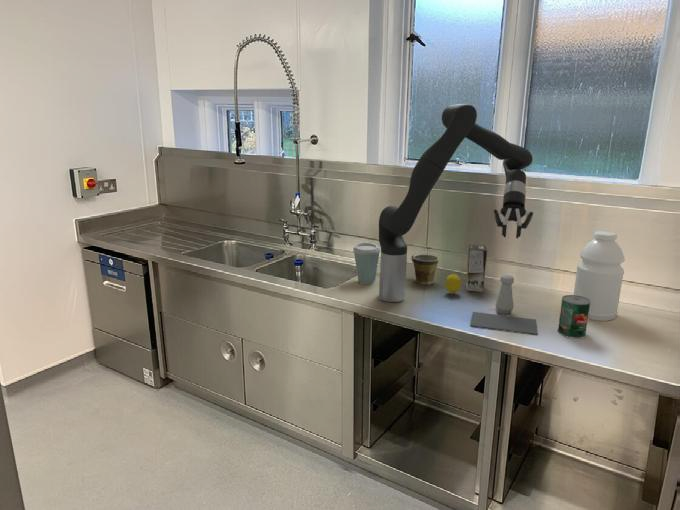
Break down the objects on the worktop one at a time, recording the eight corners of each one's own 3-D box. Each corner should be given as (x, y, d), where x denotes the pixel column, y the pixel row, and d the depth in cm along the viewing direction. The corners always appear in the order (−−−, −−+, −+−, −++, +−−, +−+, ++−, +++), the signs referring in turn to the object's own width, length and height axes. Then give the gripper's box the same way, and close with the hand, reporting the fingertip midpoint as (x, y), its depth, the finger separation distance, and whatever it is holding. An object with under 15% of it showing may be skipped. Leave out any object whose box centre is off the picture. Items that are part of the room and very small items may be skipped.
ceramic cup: (442, 283, 206) (444, 258, 203) (423, 287, 200) (425, 262, 198) (420, 274, 216) (421, 251, 213) (401, 278, 211) (402, 254, 208)
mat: (472, 313, 175) (472, 311, 175) (535, 320, 170) (535, 319, 169) (469, 326, 164) (470, 325, 164) (537, 335, 158) (537, 333, 158)
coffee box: (483, 292, 196) (487, 250, 192) (466, 290, 197) (469, 249, 193) (482, 284, 205) (485, 244, 200) (465, 283, 206) (468, 243, 202)
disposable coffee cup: (383, 285, 203) (384, 247, 199) (356, 287, 200) (357, 249, 196) (374, 277, 213) (375, 241, 209) (349, 278, 210) (349, 242, 206)
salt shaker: (492, 309, 179) (495, 273, 175) (508, 309, 179) (512, 273, 176) (498, 316, 173) (502, 278, 170) (515, 315, 174) (519, 278, 170)
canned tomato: (583, 340, 155) (588, 305, 152) (555, 334, 159) (560, 300, 156) (587, 331, 162) (592, 298, 159) (560, 325, 166) (564, 293, 163)
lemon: (461, 293, 195) (463, 272, 193) (458, 297, 190) (459, 276, 188) (446, 290, 197) (448, 270, 195) (443, 295, 192) (444, 274, 190)
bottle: (597, 324, 167) (610, 239, 160) (561, 310, 179) (572, 230, 171) (625, 317, 173) (639, 235, 166) (589, 303, 185) (600, 226, 178)
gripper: (494, 188, 187) (490, 229, 179) (536, 191, 183) (533, 232, 175) (493, 201, 193) (489, 240, 185) (534, 203, 189) (531, 244, 181)
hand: (511, 236), depth 180 cm, fingers open, 3 cm apart
